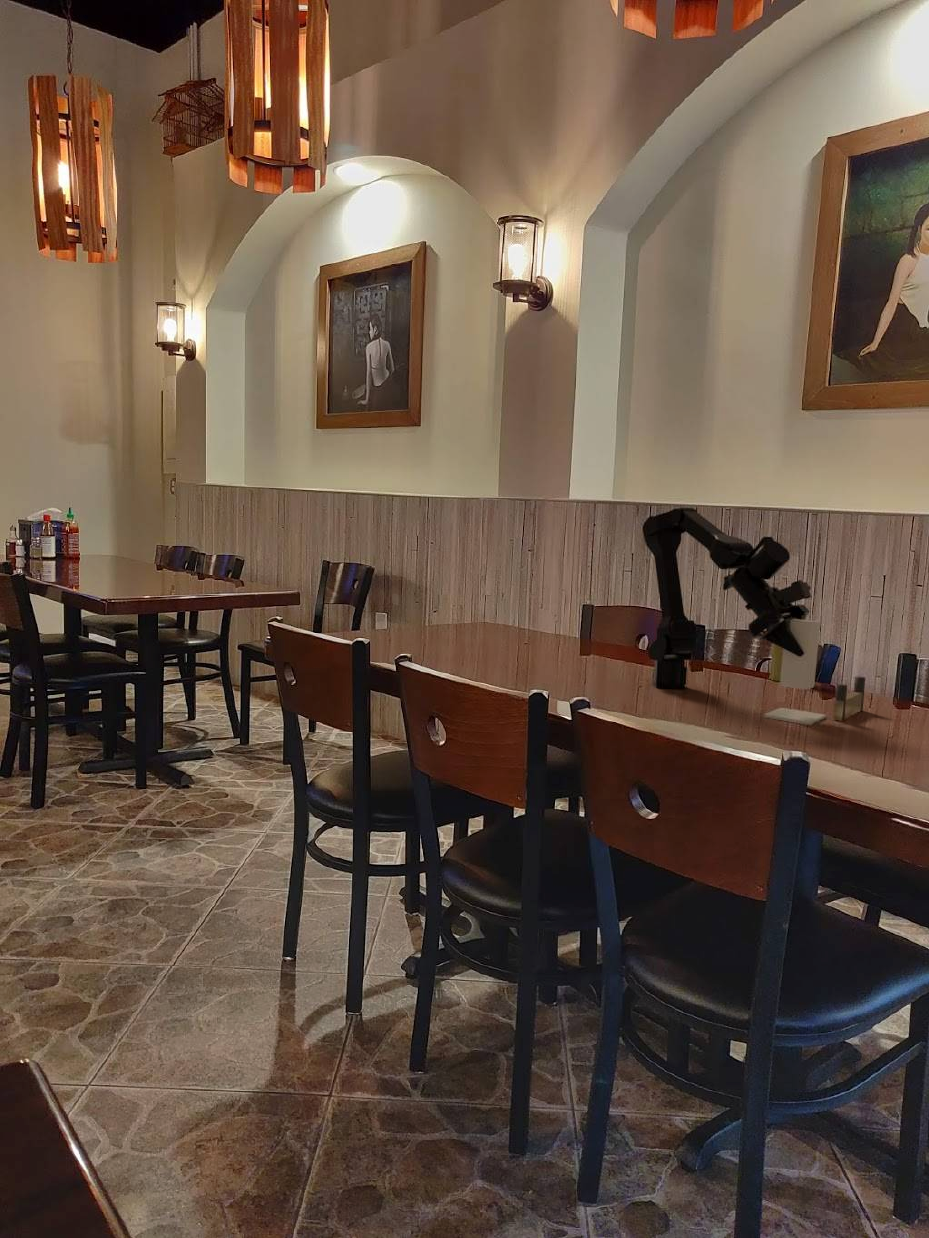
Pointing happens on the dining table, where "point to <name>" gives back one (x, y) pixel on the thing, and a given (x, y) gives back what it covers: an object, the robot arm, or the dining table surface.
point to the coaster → (795, 716)
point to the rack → (849, 699)
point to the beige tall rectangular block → (801, 668)
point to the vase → (776, 663)
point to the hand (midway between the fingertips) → (807, 653)
